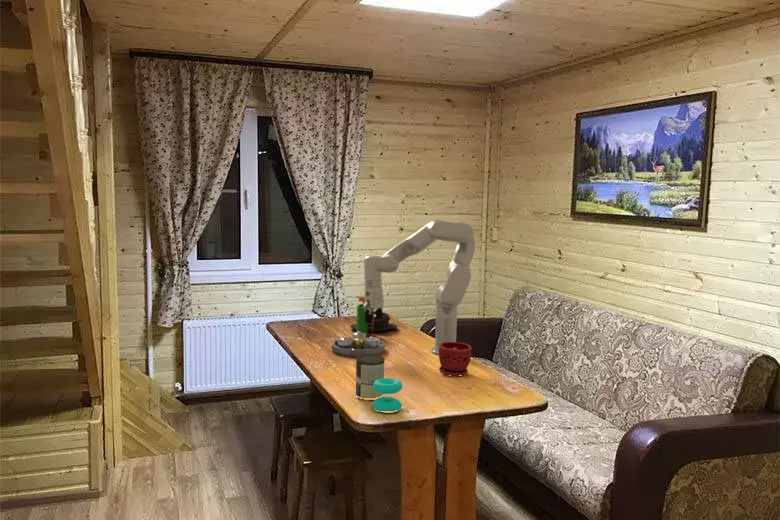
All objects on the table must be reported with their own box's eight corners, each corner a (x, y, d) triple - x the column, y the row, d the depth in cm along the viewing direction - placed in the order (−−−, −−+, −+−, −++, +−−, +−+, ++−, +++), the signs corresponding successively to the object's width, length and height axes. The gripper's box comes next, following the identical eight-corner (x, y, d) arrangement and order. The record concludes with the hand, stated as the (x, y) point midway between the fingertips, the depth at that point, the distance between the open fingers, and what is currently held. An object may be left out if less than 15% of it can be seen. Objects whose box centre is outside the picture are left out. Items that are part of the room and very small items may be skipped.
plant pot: (444, 379, 262) (445, 349, 260) (433, 370, 274) (434, 341, 273) (475, 377, 265) (476, 348, 264) (463, 368, 278) (464, 340, 276)
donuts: (408, 383, 223) (382, 387, 217) (407, 411, 224) (382, 416, 219) (392, 375, 231) (367, 379, 226) (391, 403, 232) (367, 407, 227)
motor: (373, 339, 325) (374, 299, 323) (355, 338, 326) (356, 298, 323) (374, 334, 335) (375, 295, 333) (356, 334, 336) (357, 295, 333)
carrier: (393, 348, 308) (394, 333, 308) (367, 360, 287) (368, 343, 286) (349, 341, 320) (349, 326, 319) (321, 352, 299) (321, 336, 298)
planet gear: (382, 349, 302) (383, 338, 301) (374, 352, 295) (375, 341, 294) (368, 347, 305) (368, 336, 305) (360, 350, 298) (360, 339, 298)
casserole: (354, 334, 334) (354, 318, 333) (346, 326, 352) (347, 311, 351) (401, 333, 341) (402, 317, 340) (392, 325, 359) (392, 310, 358)
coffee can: (349, 396, 238) (350, 358, 236) (368, 390, 246) (369, 353, 244) (371, 403, 232) (371, 363, 230) (389, 396, 240) (390, 358, 238)
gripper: (370, 286, 287) (371, 325, 289) (389, 281, 302) (390, 318, 304) (355, 285, 291) (356, 324, 293) (375, 280, 306) (376, 316, 308)
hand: (373, 320), depth 299 cm, fingers open, 9 cm apart
